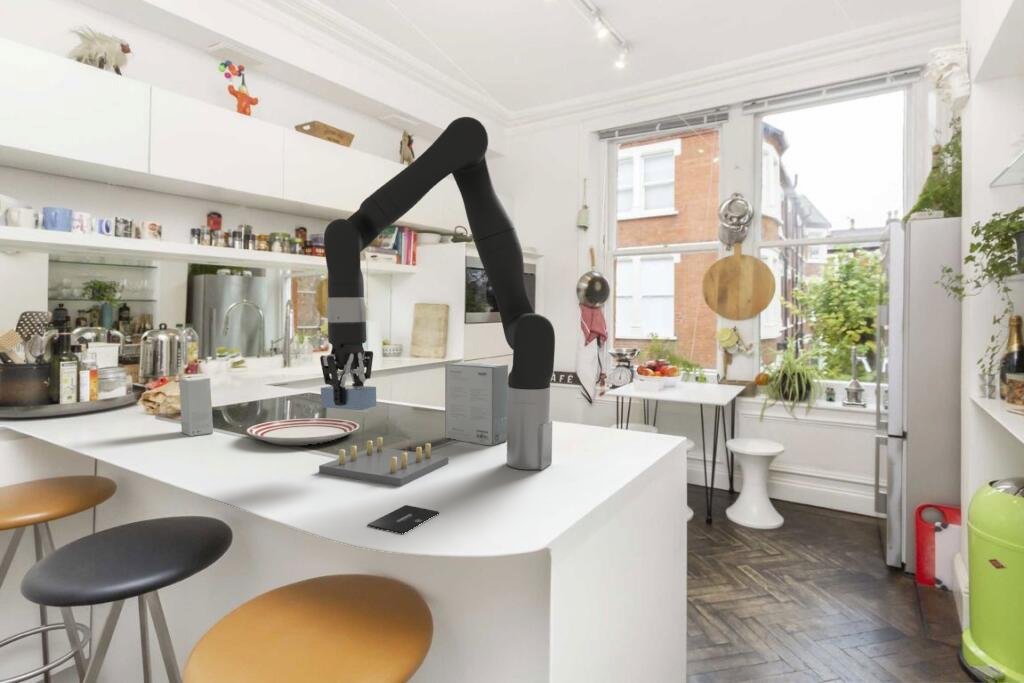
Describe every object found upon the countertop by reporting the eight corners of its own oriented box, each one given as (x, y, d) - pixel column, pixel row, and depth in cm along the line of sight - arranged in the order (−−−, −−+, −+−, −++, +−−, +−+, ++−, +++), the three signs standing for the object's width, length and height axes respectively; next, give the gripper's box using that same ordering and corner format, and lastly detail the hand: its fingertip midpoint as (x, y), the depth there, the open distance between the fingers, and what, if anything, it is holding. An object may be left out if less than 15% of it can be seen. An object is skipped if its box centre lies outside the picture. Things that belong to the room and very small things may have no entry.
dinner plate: (284, 425, 160) (284, 414, 160) (374, 429, 157) (374, 418, 156) (222, 448, 133) (221, 434, 133) (329, 454, 129) (329, 440, 129)
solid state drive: (439, 515, 92) (440, 511, 92) (403, 537, 83) (403, 532, 83) (405, 508, 95) (405, 504, 95) (366, 528, 86) (366, 524, 86)
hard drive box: (508, 441, 144) (509, 364, 143) (492, 447, 138) (493, 367, 137) (461, 433, 153) (462, 361, 152) (443, 438, 146) (444, 363, 145)
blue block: (376, 406, 114) (375, 386, 114) (360, 410, 110) (360, 389, 109) (337, 403, 118) (337, 384, 118) (321, 407, 114) (320, 387, 113)
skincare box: (213, 433, 147) (212, 378, 146) (187, 437, 143) (187, 379, 142) (204, 428, 153) (203, 375, 152) (179, 431, 149) (178, 376, 148)
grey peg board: (448, 463, 122) (448, 443, 122) (400, 486, 106) (401, 463, 105) (374, 453, 130) (374, 433, 130) (319, 472, 114) (319, 451, 113)
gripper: (337, 321, 105) (340, 410, 106) (383, 319, 118) (385, 398, 119) (307, 321, 108) (309, 407, 109) (354, 319, 121) (357, 396, 122)
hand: (349, 402), depth 114 cm, fingers closed on blue block, 5 cm apart
